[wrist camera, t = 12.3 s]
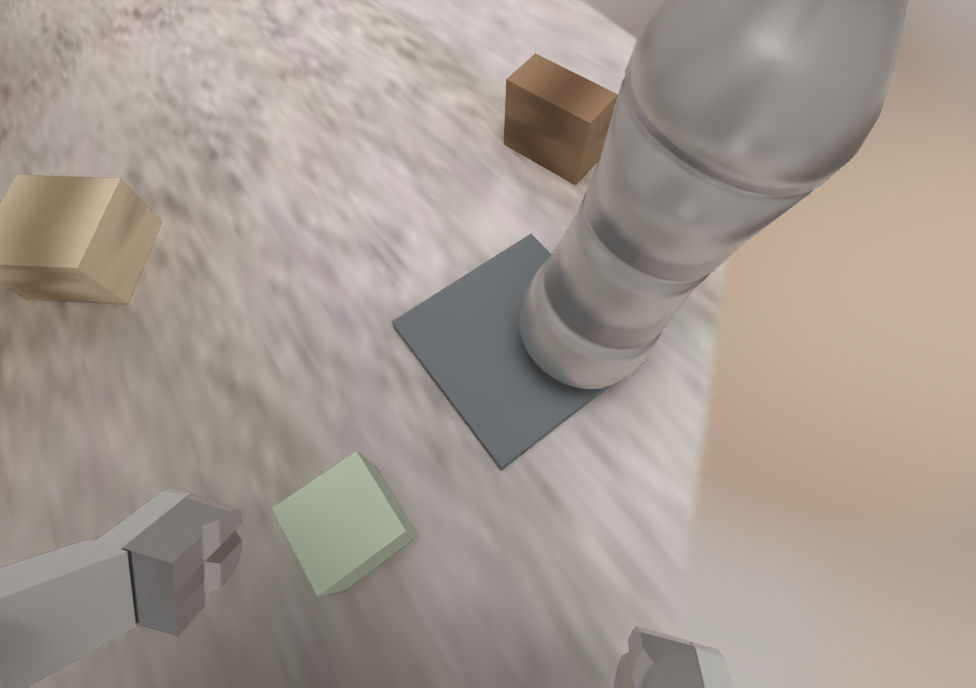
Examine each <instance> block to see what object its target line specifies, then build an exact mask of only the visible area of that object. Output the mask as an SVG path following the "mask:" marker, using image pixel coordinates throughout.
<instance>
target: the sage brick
mask: <svg viewBox="0 0 976 688" xmlns="http://www.w3.org/2000/svg"><path fill="white" fill-rule="evenodd" d="M272 510H273V512H274V514H275V516H276V518H277V520H278V522H279V524H280V526H281V528H282V530H283V532H284V534H285V536H286V537H287V539H288V541H289V543H290V545H291V547H292V549H293V551H294V553H295V555H296V557H297V559H298V561H299V563H300V565H301V566H302V568H303V570H304V572H305V574H306V576H307V578H308V580H309V582H310V584H311V586H312V588H313V590H314V592H315V594H316V595H317V597H319V596H324V595H328V594H333V593H337V592H342V591H345V590H347V589H348V588H349V587H351V586H352V585H353V584H355V583H356V582H357V581H359V580H360V579H361V578H363V577H364V576H365V575H367V574H368V573H369V572H371V571H372V570H373V569H375V568H376V567H377V566H379V565H380V564H381V563H383V562H384V561H385V560H387V559H388V558H389V557H391V556H392V555H393V554H394V553H396V552H397V551H398V550H400V549H401V548H402V547H404V546H405V545H406V544H408V543H409V542H410V541H412V540H413V539H414V538H416V537H417V536H418V534H417V532H416V531H415V529H414V528H413V526H412V524H411V523H410V521H409V519H408V518H407V516H406V515H405V513H404V511H403V510H402V508H401V507H400V505H399V503H398V502H397V500H396V499H395V497H394V495H393V494H392V492H391V491H390V489H389V487H388V486H387V484H386V483H385V481H384V479H383V478H382V476H381V475H380V473H379V471H378V470H377V468H376V467H375V466H374V465H373V464H372V463H371V462H369V461H368V460H367V459H366V458H365V457H363V456H362V455H361V454H360V453H359V452H357V451H355V452H354V453H352V454H351V455H349V456H348V457H346V458H345V459H344V460H342V461H341V462H339V463H338V464H336V465H335V466H333V467H332V468H330V469H329V470H327V471H326V472H324V473H323V474H321V475H320V476H318V477H317V478H315V479H314V480H312V481H311V482H309V483H308V484H307V485H305V486H304V487H302V488H301V489H299V490H298V491H296V492H295V493H293V494H292V495H290V496H289V497H287V498H286V499H284V500H283V501H281V502H280V503H278V504H277V505H275V506H274V507H273V508H272Z"/></svg>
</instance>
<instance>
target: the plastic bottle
mask: <svg viewBox="0 0 976 688" xmlns="http://www.w3.org/2000/svg"><path fill="white" fill-rule="evenodd" d="M907 5H908V0H664V1H663V2H662V4H661V5H660V6H659V7H658V9H657V10H656V11H655V13H654V14H653V15H652V16H651V18H650V19H649V20H648V22H647V23H646V24H645V25H644V27H643V28H642V30H641V32H640V34H639V36H638V38H637V41H636V44H635V46H634V49H633V52H632V55H631V57H630V60H629V62H628V65H627V68H626V70H625V77H624V79H623V82H622V85H621V88H620V91H619V95H618V98H617V102H616V105H615V108H614V112H613V115H612V118H611V122H610V125H609V129H608V132H607V135H606V139H605V142H604V146H603V149H602V152H601V156H600V158H599V161H598V163H597V166H596V168H595V171H594V173H593V176H592V178H591V180H590V183H589V185H588V188H587V190H586V193H585V196H584V198H583V200H582V203H581V205H580V207H579V210H578V212H577V214H576V216H575V217H574V219H573V221H572V222H571V224H570V226H569V227H568V229H567V231H566V232H565V234H564V235H563V237H562V239H561V240H560V242H559V244H558V245H557V247H556V248H555V250H554V252H553V253H552V255H551V256H550V257H549V258H548V259H547V260H546V261H545V262H544V264H543V265H542V266H541V267H540V268H539V270H538V271H537V272H536V274H535V275H534V277H533V278H532V279H531V281H530V282H529V284H528V285H527V288H526V290H525V292H524V294H523V299H522V304H521V311H520V317H519V330H520V334H521V338H522V342H523V344H524V346H525V348H526V350H527V352H528V354H529V355H530V356H531V358H532V359H533V361H534V362H535V363H536V364H537V365H538V366H539V367H540V368H541V369H542V370H543V371H544V372H545V373H547V374H548V375H550V376H551V377H552V378H554V379H556V380H558V381H560V382H562V383H564V384H566V385H569V386H573V387H576V388H582V389H600V388H604V387H607V386H610V385H613V384H614V383H616V382H618V381H620V380H622V379H624V378H625V377H627V376H629V375H631V374H632V373H634V372H635V371H636V370H637V369H638V368H639V367H640V366H641V365H642V364H643V363H644V361H645V360H646V358H647V357H648V355H649V354H650V352H651V351H652V349H653V348H654V346H655V344H656V342H657V341H658V339H659V337H660V335H661V333H662V331H663V329H664V327H665V326H666V325H667V323H668V322H669V321H670V320H671V318H672V317H673V316H674V314H675V313H676V312H677V311H678V309H679V308H680V307H681V305H682V304H683V303H684V301H685V300H686V299H687V298H688V296H689V295H690V294H691V292H692V291H693V290H694V289H695V288H696V287H697V286H698V285H699V284H700V283H701V282H702V281H703V280H704V279H705V278H706V277H708V276H709V275H710V274H711V272H713V271H714V270H715V269H716V268H717V267H719V266H720V265H721V264H722V263H723V262H724V261H725V260H726V259H727V258H728V257H729V256H730V255H731V254H733V253H734V252H735V251H736V250H737V249H738V248H739V247H740V246H741V245H742V244H744V243H745V242H746V241H748V240H749V239H750V238H752V237H753V236H754V235H756V234H757V233H758V232H760V231H761V230H762V229H764V228H765V227H766V226H768V225H769V224H770V223H772V222H773V221H774V220H776V219H777V218H778V217H779V216H781V215H782V214H784V213H785V212H786V211H788V210H789V209H790V208H792V207H793V206H794V205H795V204H797V203H798V202H799V201H801V200H802V199H803V198H805V197H806V196H807V195H809V194H810V193H811V192H812V191H813V190H814V189H815V188H817V187H819V186H821V185H822V184H823V183H824V182H825V181H827V180H828V179H829V178H830V177H831V176H832V175H833V174H834V173H836V172H837V171H838V170H839V169H840V168H842V167H843V166H844V165H845V164H846V163H848V162H849V161H850V159H852V158H853V157H854V155H855V154H857V152H858V151H859V149H860V148H861V146H862V144H863V143H864V141H865V139H866V138H867V136H868V134H869V133H870V131H871V129H872V128H873V126H874V124H875V122H876V121H877V119H878V118H879V116H880V113H881V109H882V107H883V103H884V100H885V97H886V94H887V91H888V87H889V84H890V81H891V78H892V74H893V71H894V68H895V64H896V61H897V57H898V52H899V46H900V41H901V36H902V30H903V26H904V20H905V15H906V10H907Z"/></svg>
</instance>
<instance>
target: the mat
mask: <svg viewBox="0 0 976 688" xmlns="http://www.w3.org/2000/svg"><path fill="white" fill-rule="evenodd" d="M550 256H551V254H550V253H549V252H548V250H547V249H546V248H545V247H544V246H543V245H542V244H541V243H540V242H539V241H538V240H537V239H536V238H535V237H534V236H533V235H532V234H530V235H528V236H526V237H525V238H523V239H522V240H520V241H518V242H517V243H515V244H514V245H512V246H511V247H509V248H507V249H506V250H504V251H503V252H501V253H500V254H498V255H496V256H495V257H493V258H492V259H490V260H488V261H487V262H485V263H484V264H482V265H481V266H479V267H477V268H476V269H474V270H473V271H471V272H470V273H468V274H466V275H465V276H463V277H462V278H460V279H459V280H457V281H455V282H454V283H452V284H451V285H449V286H447V287H446V288H444V289H443V290H441V291H440V292H438V293H436V294H435V295H433V296H432V297H430V298H429V299H427V300H425V301H424V302H422V303H421V304H419V305H418V306H416V307H414V308H413V309H411V310H410V311H408V312H406V313H405V314H403V315H402V316H400V317H399V318H397V319H395V320H394V321H392V323H393V326H394V328H395V329H396V331H397V332H398V333H399V335H400V336H401V337H402V339H403V340H404V341H405V343H406V344H407V345H408V347H409V348H410V349H411V351H412V352H413V353H414V355H415V356H416V357H417V359H418V360H419V361H420V363H421V364H422V365H423V367H424V368H425V369H426V371H427V372H428V373H429V375H430V376H431V377H432V379H433V380H434V381H435V383H436V384H437V385H438V387H439V388H440V389H441V391H442V392H443V393H444V395H445V396H446V397H447V399H448V400H449V401H450V403H451V404H452V405H453V407H454V408H455V409H456V411H457V412H458V413H459V415H460V416H461V417H462V419H463V420H464V421H465V423H466V424H467V425H468V427H469V428H470V429H471V431H472V432H473V433H474V435H475V436H476V437H477V439H478V440H479V441H480V443H481V444H482V445H483V447H484V448H485V449H486V451H487V452H488V453H489V455H490V456H491V457H492V458H493V460H494V461H495V462H496V464H497V465H498V466H499V468H500V469H501V470H502V469H503V468H505V467H506V466H507V465H509V464H510V463H511V462H512V461H514V460H515V459H516V458H518V457H519V456H520V455H521V454H523V453H524V452H525V451H527V450H528V449H529V448H530V447H532V446H533V445H534V444H536V443H537V442H538V441H539V440H541V439H542V438H543V437H545V436H546V435H547V434H548V433H550V432H551V431H552V430H554V429H555V428H556V427H557V426H559V425H560V424H561V423H563V422H564V421H565V420H566V419H568V418H569V417H570V416H572V415H573V414H574V413H575V412H577V411H578V410H579V409H581V408H582V407H583V406H584V405H586V404H587V403H588V402H590V401H591V400H592V399H593V398H595V397H596V396H597V395H599V394H600V393H601V392H602V391H604V390H605V389H606V388H608V387H609V386H607V387H604V388H600V389H582V388H576V387H573V386H569V385H566V384H564V383H562V382H560V381H558V380H556V379H554V378H552V377H551V376H550V375H548V374H547V373H545V372H544V371H543V370H542V369H541V368H540V367H539V366H538V365H537V364H536V363H535V362H534V361H533V359H532V358H531V356H530V355H529V354H528V352H527V350H526V348H525V346H524V344H523V342H522V338H521V334H520V330H519V317H520V311H521V304H522V299H523V294H524V292H525V290H526V288H527V285H528V284H529V282H530V281H531V279H532V278H533V277H534V275H535V274H536V272H537V271H538V270H539V268H540V267H541V266H542V265H543V264H544V262H545V261H546V260H547V259H548V258H549V257H550Z"/></svg>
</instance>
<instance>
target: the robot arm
mask: <svg viewBox="0 0 976 688" xmlns="http://www.w3.org/2000/svg"><path fill="white" fill-rule="evenodd" d="M241 524H242V520H241V511H240V510H238V509H236V508H234V507H231V506H228V505H225V504H222V503H219V502H216V501H213V500H210V499H207V498H203V497H200V496H197V495H193V494H190V493H187V492H184V491H181V490H178V489H175V488H171V489H167V490H164V491H162V492H161V493H159V494H158V495H157V496H155V497H154V498H153V499H151V500H150V501H149V502H147V503H146V504H145V505H143V506H142V507H141V508H139V509H138V510H137V511H135V512H134V513H133V514H131V515H130V516H129V517H127V518H126V519H125V520H123V521H122V522H121V523H119V524H118V525H117V526H115V527H114V528H113V529H111V530H110V531H108V532H107V533H106V534H104V535H103V536H102V537H100V538H99V539H98V540H96V541H94V540H90V539H87V540H84V541H81V542H78V543H75V544H72V545H69V546H66V547H63V548H60V549H56V550H53V551H50V552H47V553H44V554H41V555H38V556H35V557H32V558H29V559H26V560H22V561H19V562H16V563H13V564H10V565H7V566H4V567H1V568H0V688H27V687H29V686H31V685H33V684H34V683H36V682H38V681H40V680H42V679H43V678H45V677H47V676H49V675H51V674H52V673H54V672H56V671H58V670H60V669H61V668H63V667H65V666H67V665H69V664H70V663H72V662H74V661H76V660H78V659H79V658H81V657H83V656H85V655H87V654H88V653H90V652H92V651H94V650H96V649H97V648H99V647H101V646H103V645H105V644H106V643H108V642H110V641H112V640H114V639H115V638H117V637H119V636H121V635H123V634H124V633H126V632H128V631H130V630H132V629H134V628H135V627H136V624H138V625H141V626H145V627H148V628H151V629H155V630H158V631H162V632H165V633H168V634H172V635H175V636H179V635H180V634H181V632H182V631H183V630H184V629H185V628H186V627H187V626H188V625H189V623H190V622H191V621H192V620H193V619H194V618H195V617H196V615H197V614H198V613H199V612H200V611H201V610H202V609H203V608H204V605H205V595H206V594H208V593H211V592H213V591H215V590H217V589H219V588H221V587H222V586H223V585H224V583H225V582H226V581H227V580H228V579H229V578H230V576H231V575H232V573H233V571H234V569H235V567H236V566H237V564H238V562H239V559H240V555H241V551H242V540H241V538H240V537H239V535H238V534H237V532H236V531H235V530H236V529H237V528H238V527H239V526H240V525H241ZM628 643H629V652H628V653H626V654H624V655H622V656H621V659H620V662H619V664H618V667H617V671H616V677H615V682H614V688H733V687H732V684H731V681H730V677H729V674H728V671H727V668H726V664H725V661H724V658H723V655H722V654H721V652H720V651H719V650H717V649H714V648H710V647H707V646H703V645H700V644H696V643H693V642H688V641H687V640H683V639H680V638H676V637H673V636H669V635H666V634H662V633H659V632H655V631H652V630H648V629H645V628H641V627H638V626H636V627H635V628H634V629H633V630H632V632H631V634H630V637H629V639H628Z"/></svg>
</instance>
